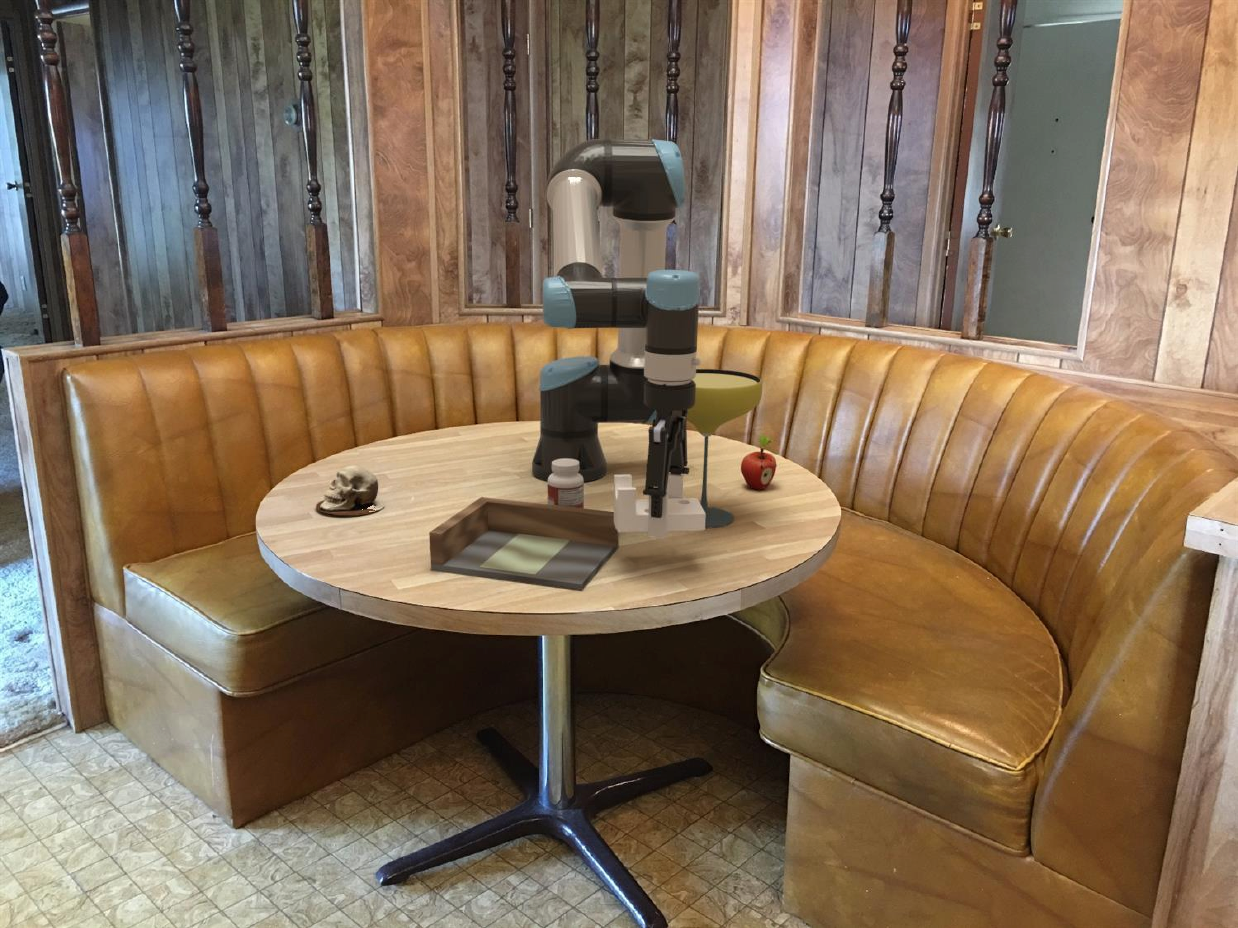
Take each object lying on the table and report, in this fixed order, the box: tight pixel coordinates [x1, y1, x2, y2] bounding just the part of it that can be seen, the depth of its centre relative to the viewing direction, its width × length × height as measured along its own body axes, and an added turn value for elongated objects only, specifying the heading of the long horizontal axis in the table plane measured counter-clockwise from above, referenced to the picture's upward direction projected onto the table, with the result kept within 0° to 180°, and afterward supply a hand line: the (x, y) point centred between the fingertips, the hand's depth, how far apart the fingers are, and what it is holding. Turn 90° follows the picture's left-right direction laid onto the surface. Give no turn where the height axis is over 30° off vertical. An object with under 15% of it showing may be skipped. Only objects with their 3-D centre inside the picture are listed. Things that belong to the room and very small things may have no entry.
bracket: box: [613, 474, 706, 533], centre depth 140 cm, size 13×7×8 cm, turn 95°
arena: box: [428, 496, 620, 592], centre depth 144 cm, size 18×24×6 cm
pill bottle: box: [547, 458, 585, 509], centre depth 159 cm, size 6×6×11 cm
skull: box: [315, 464, 379, 517], centre depth 167 cm, size 12×10×10 cm
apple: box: [740, 434, 778, 490], centre depth 181 cm, size 8×7×10 cm
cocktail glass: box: [687, 368, 763, 528], centre depth 161 cm, size 18×18×25 cm
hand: (665, 524), depth 141 cm, fingers closed on bracket, 9 cm apart
